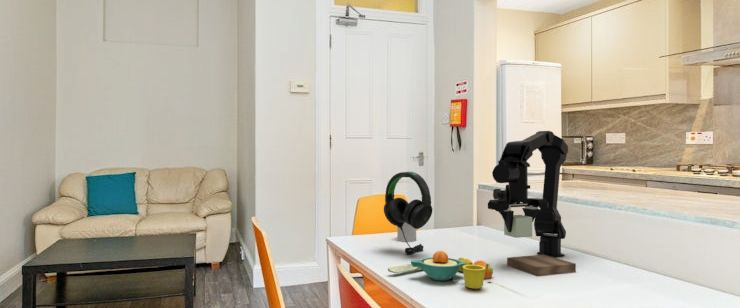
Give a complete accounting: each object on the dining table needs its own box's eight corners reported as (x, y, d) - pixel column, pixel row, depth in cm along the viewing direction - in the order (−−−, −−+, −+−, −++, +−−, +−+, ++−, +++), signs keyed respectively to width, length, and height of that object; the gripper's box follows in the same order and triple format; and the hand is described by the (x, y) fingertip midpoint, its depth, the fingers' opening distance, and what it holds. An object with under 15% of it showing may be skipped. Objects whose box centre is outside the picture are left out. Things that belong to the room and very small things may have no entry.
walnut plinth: (543, 262, 155) (543, 254, 155) (575, 272, 142) (575, 263, 142) (507, 265, 150) (507, 257, 150) (537, 276, 137) (537, 267, 137)
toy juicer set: (503, 276, 138) (503, 249, 138) (480, 291, 123) (480, 260, 123) (416, 263, 154) (416, 239, 154) (386, 275, 139) (386, 248, 139)
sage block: (520, 233, 153) (520, 214, 153) (532, 236, 147) (532, 217, 147) (504, 234, 151) (504, 215, 151) (515, 237, 146) (515, 218, 146)
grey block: (415, 244, 185) (415, 214, 185) (396, 244, 187) (396, 213, 187) (417, 241, 193) (417, 211, 193) (398, 240, 194) (398, 211, 194)
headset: (379, 253, 169) (379, 171, 169) (404, 248, 178) (404, 170, 178) (418, 261, 156) (418, 172, 156) (443, 255, 166) (443, 171, 166)
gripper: (526, 179, 160) (526, 226, 160) (478, 181, 154) (478, 229, 154) (549, 181, 149) (549, 231, 149) (498, 183, 143) (498, 235, 143)
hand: (518, 231), depth 149 cm, fingers closed on sage block, 6 cm apart
